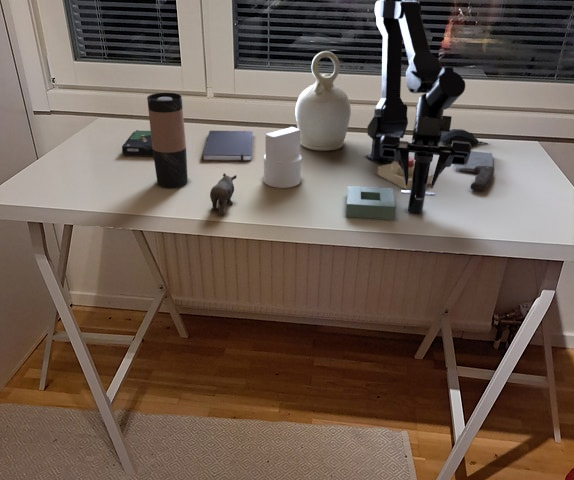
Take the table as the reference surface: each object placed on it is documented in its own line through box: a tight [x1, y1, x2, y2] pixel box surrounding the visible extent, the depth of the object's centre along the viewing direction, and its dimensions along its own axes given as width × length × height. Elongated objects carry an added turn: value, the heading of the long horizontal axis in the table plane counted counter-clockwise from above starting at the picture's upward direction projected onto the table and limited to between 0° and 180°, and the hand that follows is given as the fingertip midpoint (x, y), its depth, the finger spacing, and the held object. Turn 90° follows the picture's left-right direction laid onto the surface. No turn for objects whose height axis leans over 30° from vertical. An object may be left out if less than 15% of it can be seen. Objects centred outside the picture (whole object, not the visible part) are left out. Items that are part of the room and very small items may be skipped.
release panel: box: [377, 160, 433, 190], centre depth 137 cm, size 11×8×4 cm
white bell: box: [295, 50, 352, 152], centre depth 152 cm, size 15×16×25 cm
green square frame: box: [345, 185, 396, 221], centre depth 122 cm, size 10×10×3 cm
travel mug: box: [146, 92, 189, 189], centre depth 127 cm, size 8×8×20 cm
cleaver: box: [454, 150, 495, 192], centre depth 143 cm, size 29×10×2 cm, turn 163°
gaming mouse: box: [439, 128, 488, 147], centre depth 162 cm, size 6×15×4 cm, turn 88°
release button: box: [398, 156, 415, 167], centre depth 135 cm, size 4×4×2 cm
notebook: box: [202, 130, 254, 162], centre depth 154 cm, size 13×2×21 cm
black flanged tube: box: [400, 151, 436, 215], centre depth 118 cm, size 7×7×13 cm
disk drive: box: [121, 129, 154, 157], centre depth 152 cm, size 10×3×15 cm
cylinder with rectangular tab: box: [263, 126, 303, 189], centre depth 132 cm, size 9×9×12 cm
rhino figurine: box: [209, 172, 237, 216], centre depth 121 cm, size 4×14×6 cm, turn 171°
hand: (419, 186), depth 117 cm, fingers open, 5 cm apart
